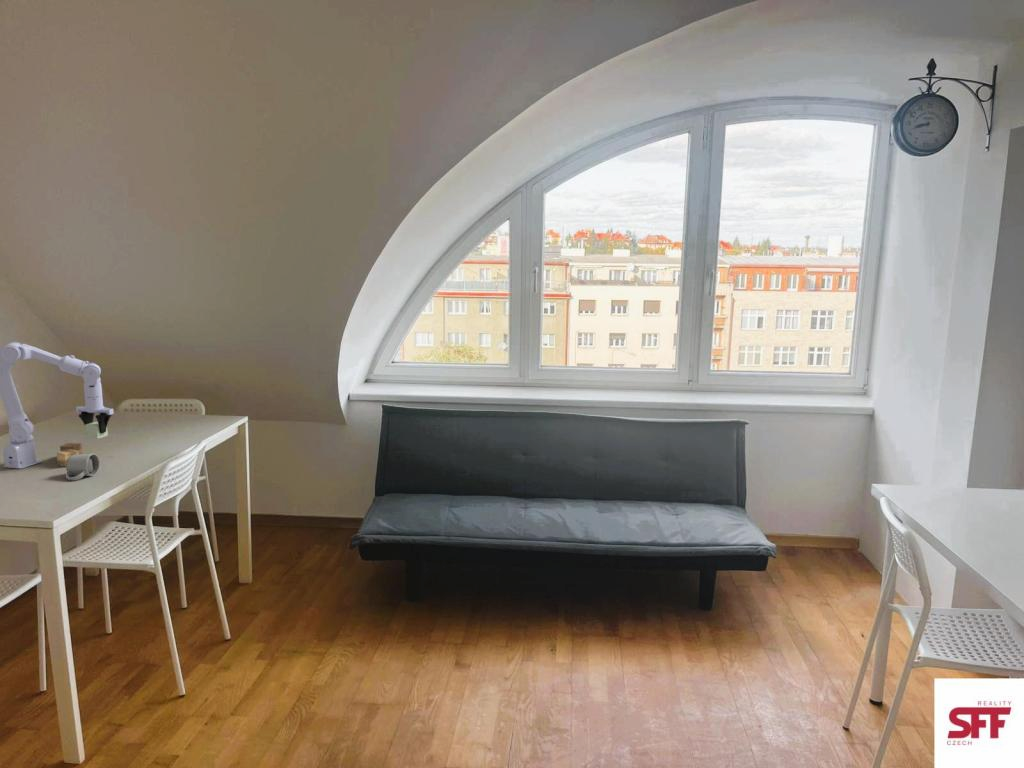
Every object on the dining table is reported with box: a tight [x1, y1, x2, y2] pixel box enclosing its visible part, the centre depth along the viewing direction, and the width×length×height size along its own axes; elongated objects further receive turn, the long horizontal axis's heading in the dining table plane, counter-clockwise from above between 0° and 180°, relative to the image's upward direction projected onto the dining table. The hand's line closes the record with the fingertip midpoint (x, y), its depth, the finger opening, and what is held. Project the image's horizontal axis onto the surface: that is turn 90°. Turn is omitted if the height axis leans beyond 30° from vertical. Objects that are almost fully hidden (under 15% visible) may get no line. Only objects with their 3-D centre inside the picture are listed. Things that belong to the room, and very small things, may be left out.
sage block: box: [84, 421, 109, 439], centre depth 278 cm, size 5×5×5 cm
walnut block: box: [59, 442, 83, 454], centre depth 279 cm, size 5×5×5 cm
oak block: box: [56, 449, 79, 468], centre depth 270 cm, size 5×5×5 cm
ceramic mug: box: [65, 453, 100, 481], centre depth 256 cm, size 11×8×8 cm
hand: (96, 432), depth 278 cm, fingers closed on sage block, 5 cm apart
